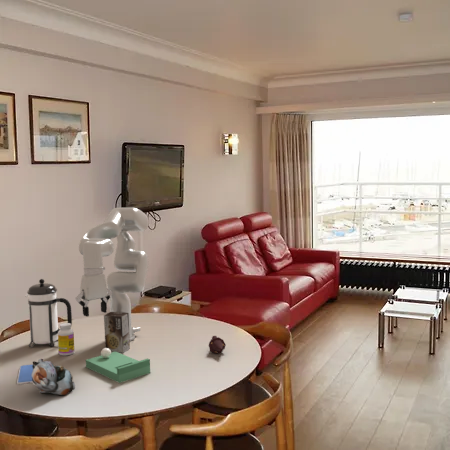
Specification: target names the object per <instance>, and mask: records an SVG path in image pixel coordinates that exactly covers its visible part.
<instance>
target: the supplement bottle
mask: <svg viewBox="0 0 450 450" xmlns="http://www.w3.org/2000/svg"><path fill="white" fill-rule="evenodd" d="M59 329H60V330H59V331H58V339H57V342H58V343H57V344H58V345H57V346H58V347H57V348H58V354H59V355H60V356H71V355H73V354H74V353H75V331H74V330H73V329H72V326H71V323H68V322H64V323H63V322H62V323H60V324H59Z"/></svg>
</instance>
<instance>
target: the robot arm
mask: <svg viewBox="0 0 450 450" xmlns="http://www.w3.org/2000/svg"><path fill="white" fill-rule="evenodd" d="M149 224H150V223H149V218H148V216H147V214H146V213H145V212H143V211H142V210H141V209H138V208H137V207H115V208H112V209H111V210H110V211H109V213H108V215H107V216H106V218H105V219H104V220H103V222H102V223H101V224H98V225H95V226H94V227H92V228H90V229H88V230H87V231H86V232H85V233H84V235H83V236H82V237H81V239H80V242H79V243H78V251H79V253H80V255H82V258H83V261H82V262H83V275H82V276H81V280H80V292H79V294H78V295H76V297H75V300H76V302H77V303H78V304H79V305H80V306H81V307H82V314H83V316H84V317H89V316H90V311H89V306H88V305H89V303H90V301H94V300H99V299H100V311H101V312H102V313H105V314H107V313H108V312H107V309H108V305H107V304H108V302H109V312H123V313H129V338H130V342H131V341H134V340H135V339H136V334H135V333H138V332H140V331H141V327H140V326H139V327H138V326H137V327H134V326H133V327H132V309H131V303H132V302H131V298H130V297H129V295H128V294H127V293H133V294H134V293H135V294H137V293H142V292H143V291H144V289H145V285H146V280H147V276H148V275H147V273H148V268H149V256H148V253H146V252H145V251H143V250H135V248H136V241H135V239H134V237H133V236H132V235H131V234H130V233H129V232H145V231H146V230H147V229H148V227H149ZM114 238H116V241H117V242H116V249H115V244H114V243H115V242H113V241H112V240H113V239H114ZM114 249H115V250H114ZM114 251H115V253H114ZM113 253H114V260H113V266H114V268H115V269H116V270H118V271H113V272H111V273H109V274H108V276H107V278H106V276H105V273H104V271H105V270H106V267H105V266H103V257H109V256H111V255H112V254H113Z"/></svg>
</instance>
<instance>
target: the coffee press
mask: <svg viewBox="0 0 450 450" xmlns="http://www.w3.org/2000/svg"><path fill="white" fill-rule="evenodd" d="M57 292H58V288H57V287H56V286H55V285H54V284H53V283H46V282H45V280H44V278H40V279H39V281H38V283H36V284H33V285H31V286H29V287H28V290H27V292H26V294H25V298H28V299H27V302H28V303H27V304H28V312H29V314H28V315H29V329H30V330H29V332H30V342H29V344H28V347H29V348H31V349H32V348H34V346H35V345H46V344H48V345H49V346H50V348H53V347H55V342H56V341H58V331H59V330H60V327H59V322H58V321H59V319H58V303H63V304H65V307H66V315H67V323H71V327H72V326H73V318H72V317H73V314H72V305H71V302H70V301H69V300H68V299H66V298H62V297H59V298H58V297H57Z"/></svg>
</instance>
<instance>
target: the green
mask: <svg viewBox="0 0 450 450" xmlns="http://www.w3.org/2000/svg"><path fill="white" fill-rule="evenodd" d="M150 360H151V359H149V358H144V359H141V360H137V359H136V358H133V357H130V356H128V355H125V354H122V353H121V352H116V351H115V352H112V351H111V355H110V357H108V358H103V357H102V356H101V355H98V356H95V357H94V356H93V357H91V358H87V359H85V368H87V369H88V370H91V371H93V372H95V373H97V374H99V375H102V376H103V377H106V378H108V379H110V380H113V381H115V382H117V383H119V384H121V383H124V382H126V381H130V380H133V379H135V378H136V379H137V378H140V377H142V376H145V375H148V374H151V361H150Z"/></svg>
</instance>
